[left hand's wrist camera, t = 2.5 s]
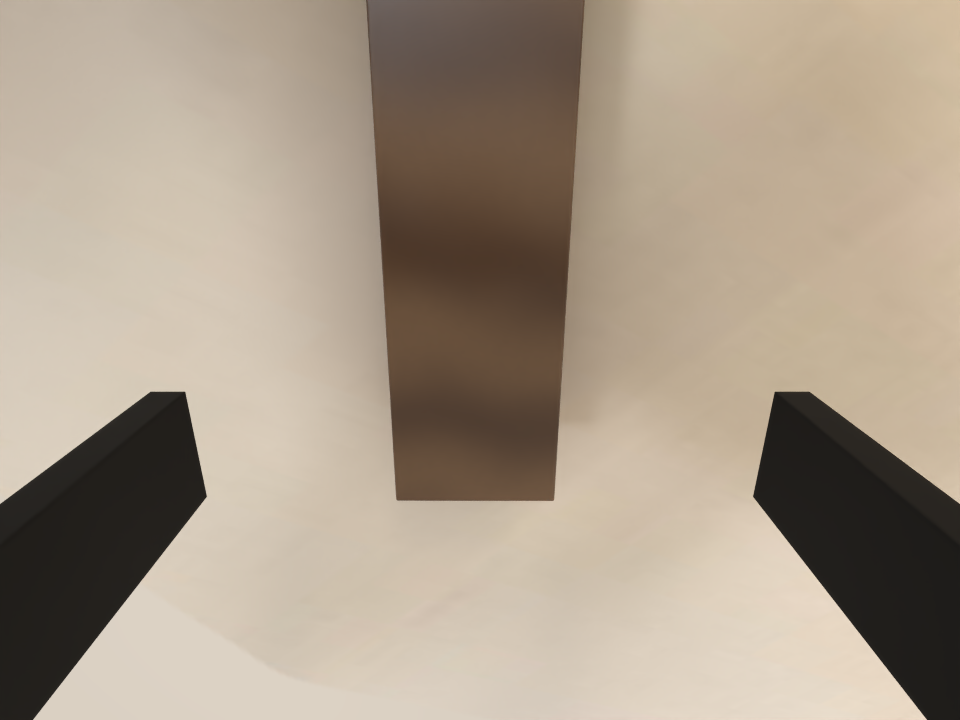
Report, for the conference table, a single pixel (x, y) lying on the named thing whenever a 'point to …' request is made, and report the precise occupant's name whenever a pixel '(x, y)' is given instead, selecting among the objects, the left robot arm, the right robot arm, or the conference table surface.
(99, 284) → the conference table surface
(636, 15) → the conference table surface
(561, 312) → the bar
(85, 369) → the conference table surface
